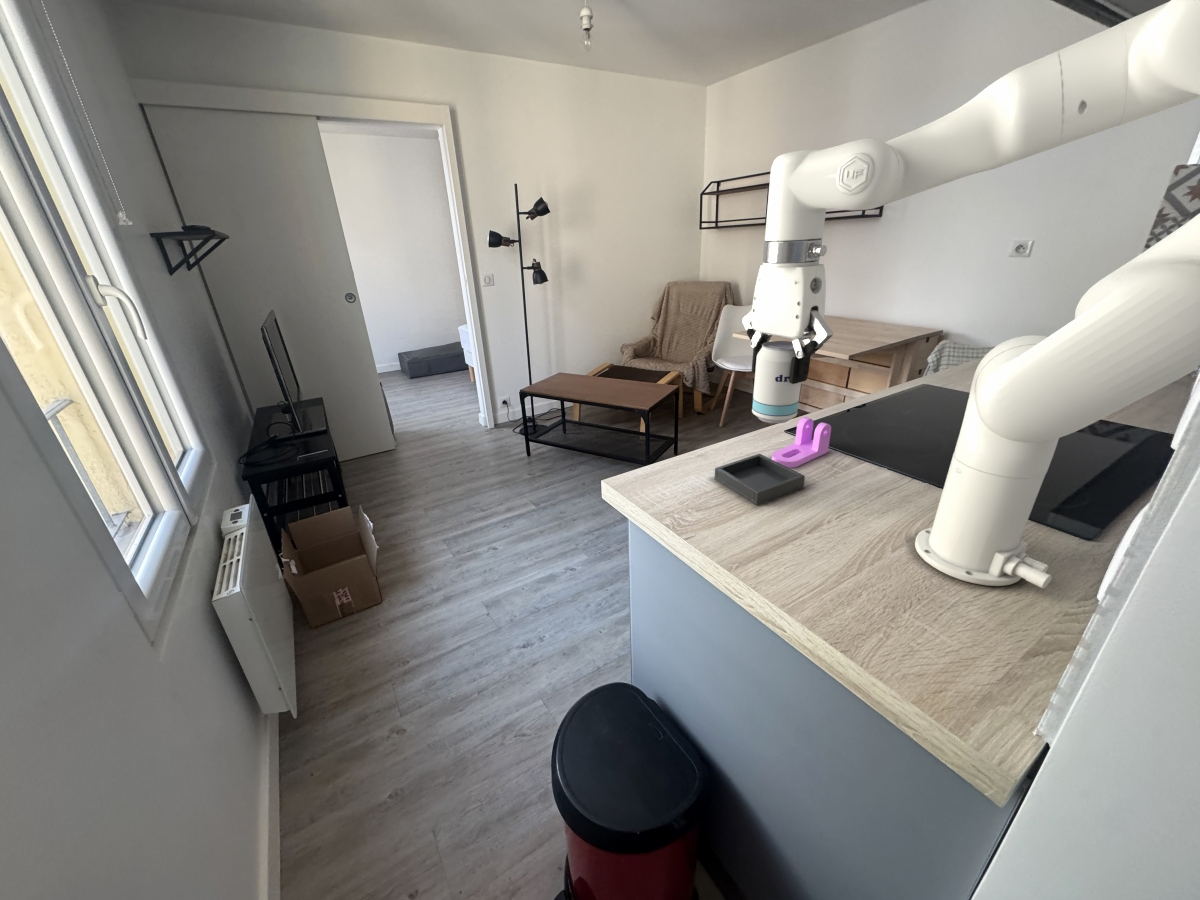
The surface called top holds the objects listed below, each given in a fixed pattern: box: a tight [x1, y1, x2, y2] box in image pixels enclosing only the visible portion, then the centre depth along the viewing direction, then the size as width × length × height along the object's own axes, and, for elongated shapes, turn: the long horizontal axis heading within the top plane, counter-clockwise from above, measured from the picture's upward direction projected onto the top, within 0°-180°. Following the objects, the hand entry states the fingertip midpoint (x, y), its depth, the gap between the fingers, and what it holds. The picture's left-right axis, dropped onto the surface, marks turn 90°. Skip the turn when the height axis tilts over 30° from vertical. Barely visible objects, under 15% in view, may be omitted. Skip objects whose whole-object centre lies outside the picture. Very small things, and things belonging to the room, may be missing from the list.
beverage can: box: [751, 340, 802, 424], centre depth 74 cm, size 7×7×12 cm
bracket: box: [771, 416, 832, 469], centre depth 98 cm, size 13×6×7 cm, turn 123°
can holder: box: [714, 453, 806, 506], centre depth 90 cm, size 12×12×3 cm
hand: (778, 375), depth 73 cm, fingers closed on beverage can, 7 cm apart
